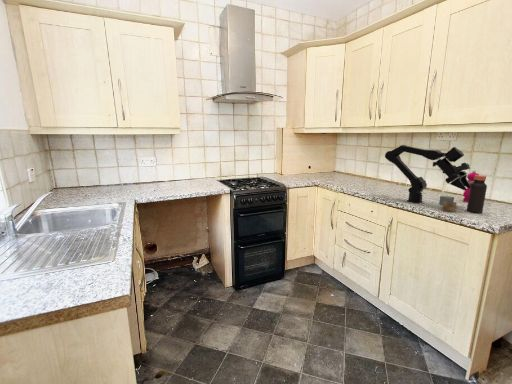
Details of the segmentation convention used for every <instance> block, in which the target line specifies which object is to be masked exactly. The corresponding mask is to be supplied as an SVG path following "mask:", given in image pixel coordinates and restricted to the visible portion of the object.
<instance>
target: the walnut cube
mask: <svg viewBox="0 0 512 384" xmlns="http://www.w3.org/2000/svg"><path fill="white" fill-rule="evenodd" d="M456 207H457V202H455V201H454V202H450V201H445V202H444V204H443V205H442V212H446V213H447V212H448V213H451V214H452V213H455V211H456Z"/></svg>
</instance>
